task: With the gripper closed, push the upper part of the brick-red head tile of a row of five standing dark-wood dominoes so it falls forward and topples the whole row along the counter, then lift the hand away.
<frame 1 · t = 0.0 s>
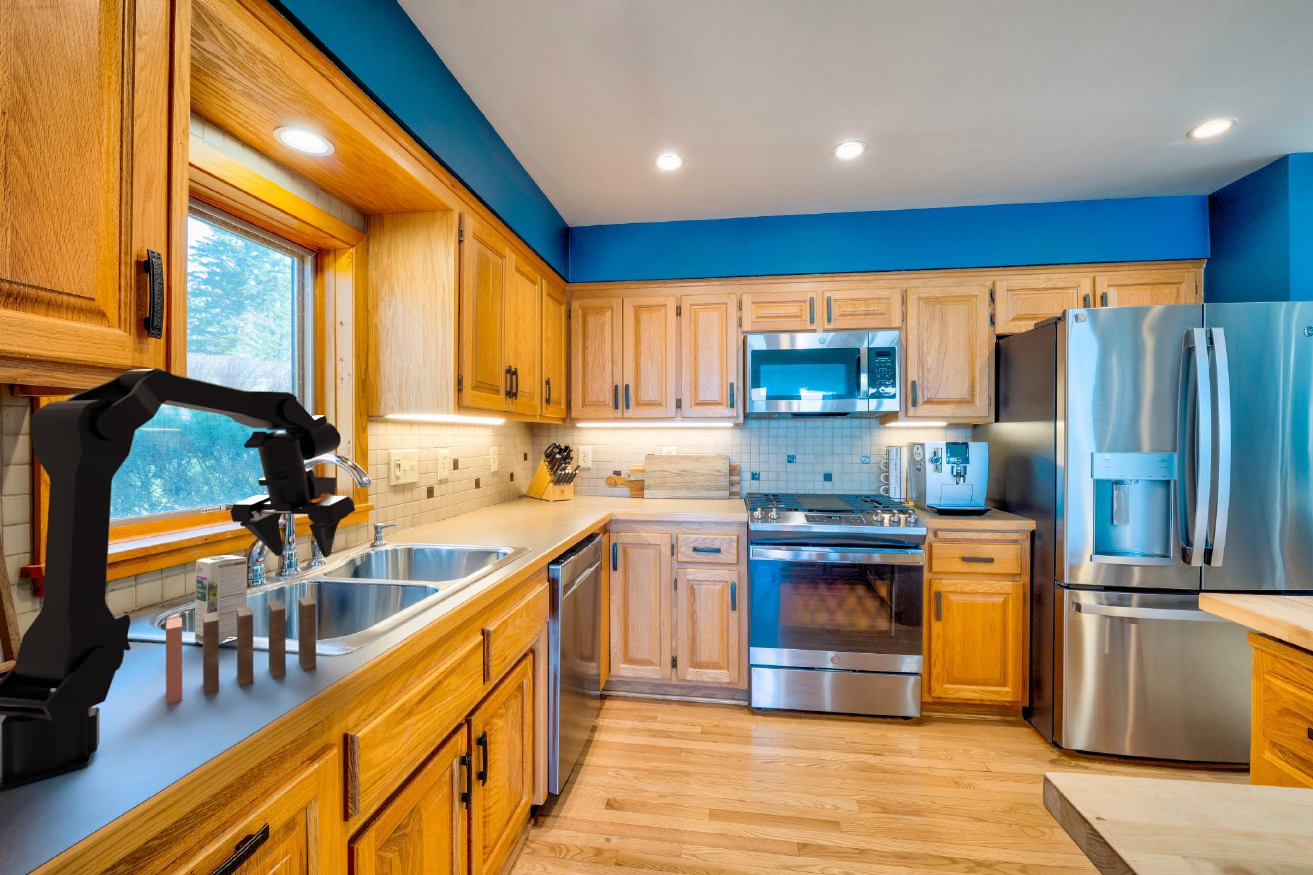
hand: (303, 555, 93), 15 cm above the counter, tool pointing down, fingers open, 9 cm apart
domino 3: (245, 679, 80), on the counter
domino 1: (174, 695, 75), on the counter
domino 4: (277, 671, 83), on the counter
domino 5: (307, 664, 86), on the counter
domino 2: (210, 687, 78), on the counter
syrup box: (221, 640, 97), on the counter
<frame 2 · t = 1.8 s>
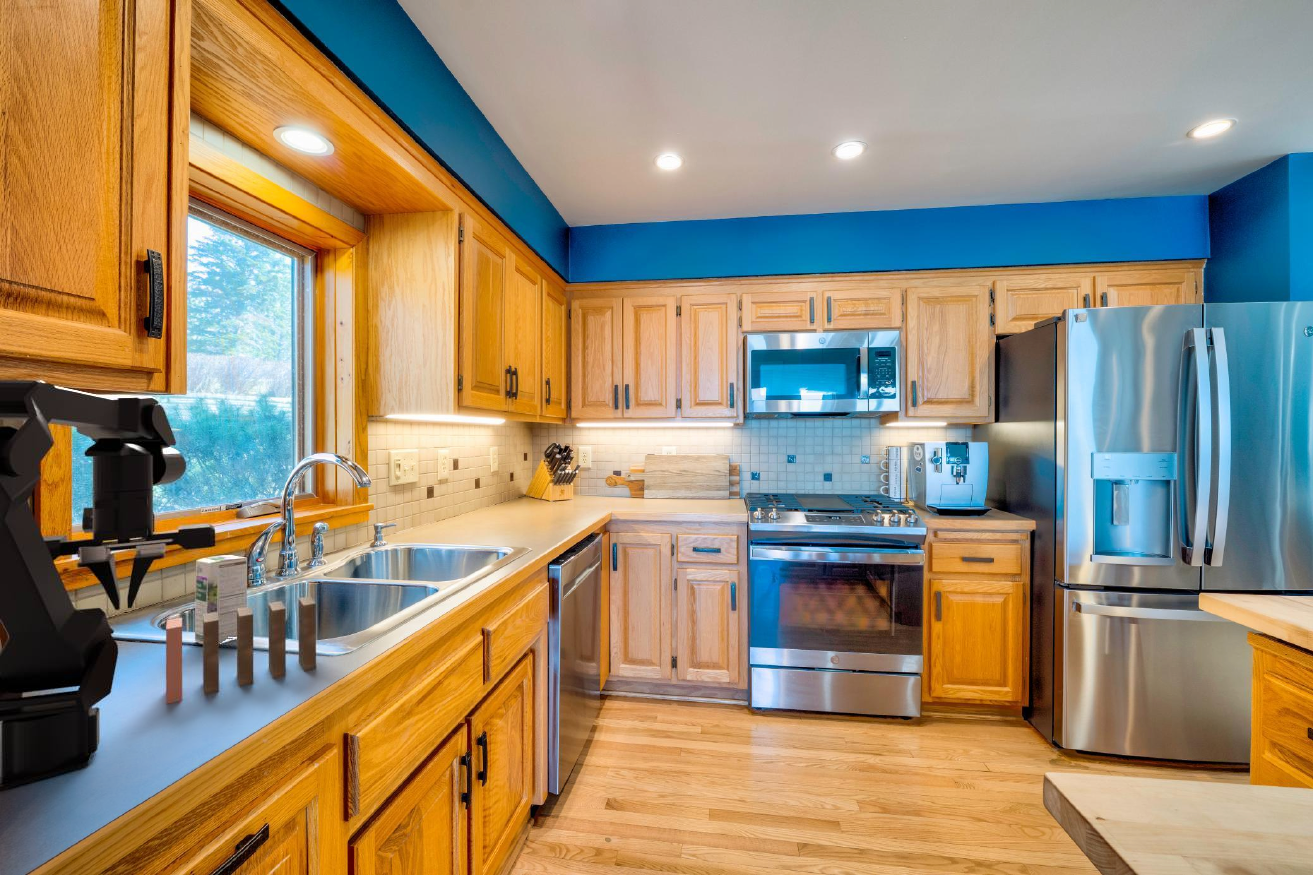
hand: (123, 608, 72), 13 cm above the counter, tool pointing down, fingers closed
nothing on the counter moved.
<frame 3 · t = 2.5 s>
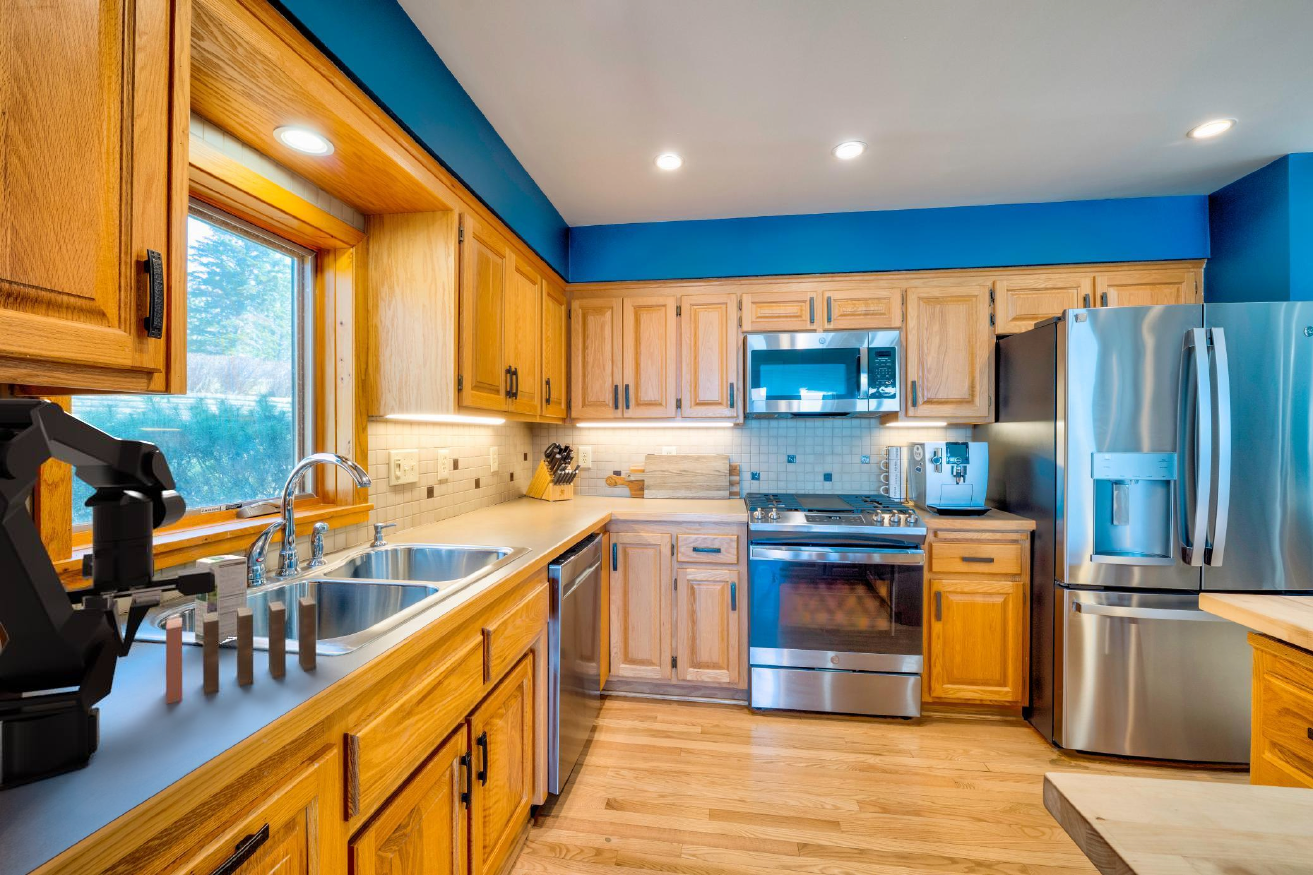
hand: (123, 656, 72), 7 cm above the counter, tool pointing down, fingers closed
nothing on the counter moved.
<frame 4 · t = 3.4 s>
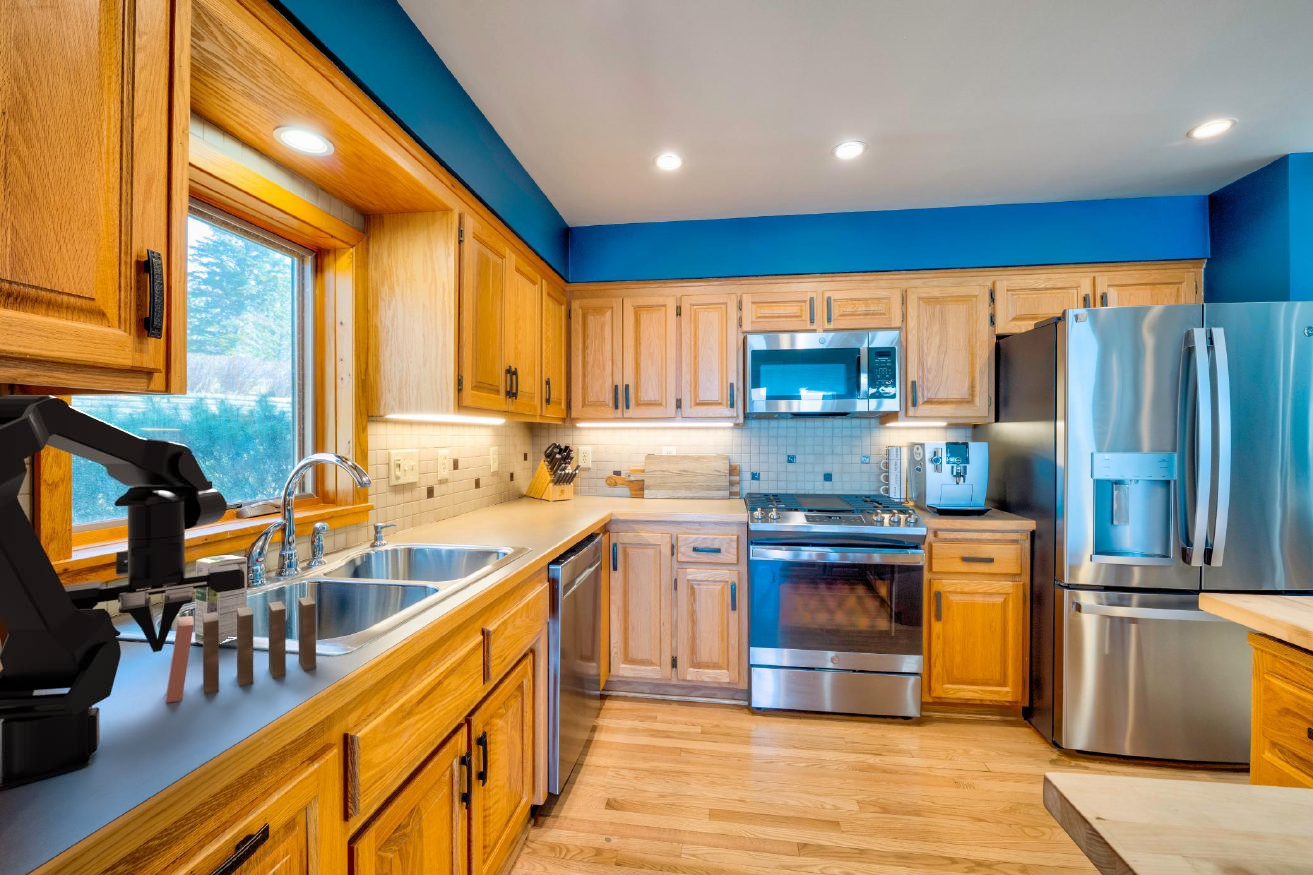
hand: (157, 650, 74), 7 cm above the counter, tool pointing down, fingers closed
domino 1: (174, 694, 75), on the counter, tilted 7°, touching gripper
everything else where it was.
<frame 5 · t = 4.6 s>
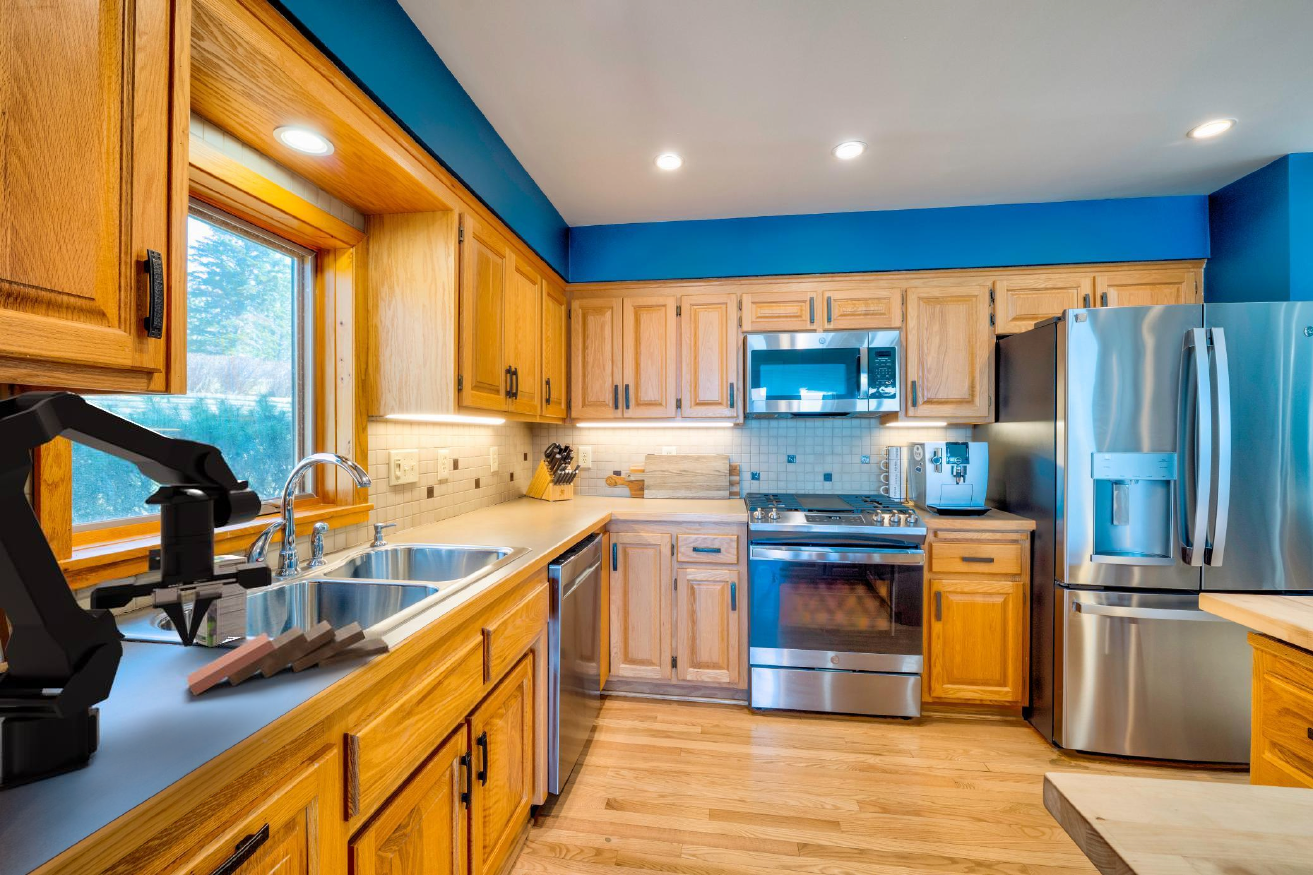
hand: (188, 645, 76), 6 cm above the counter, tool pointing down, fingers closed
domino 3: (261, 669, 82), point 1 cm above the counter, tilted 66°, touching domino 2, domino 4
domino 1: (191, 685, 77), point 1 cm above the counter, tilted 66°, touching domino 2
domino 4: (291, 663, 84), point 1 cm above the counter, tilted 72°, touching domino 3
domino 5: (315, 661, 86), on the counter, tilted 90°
domino 2: (228, 676, 79), point 1 cm above the counter, tilted 66°, touching domino 1, domino 3
everything else where it was.
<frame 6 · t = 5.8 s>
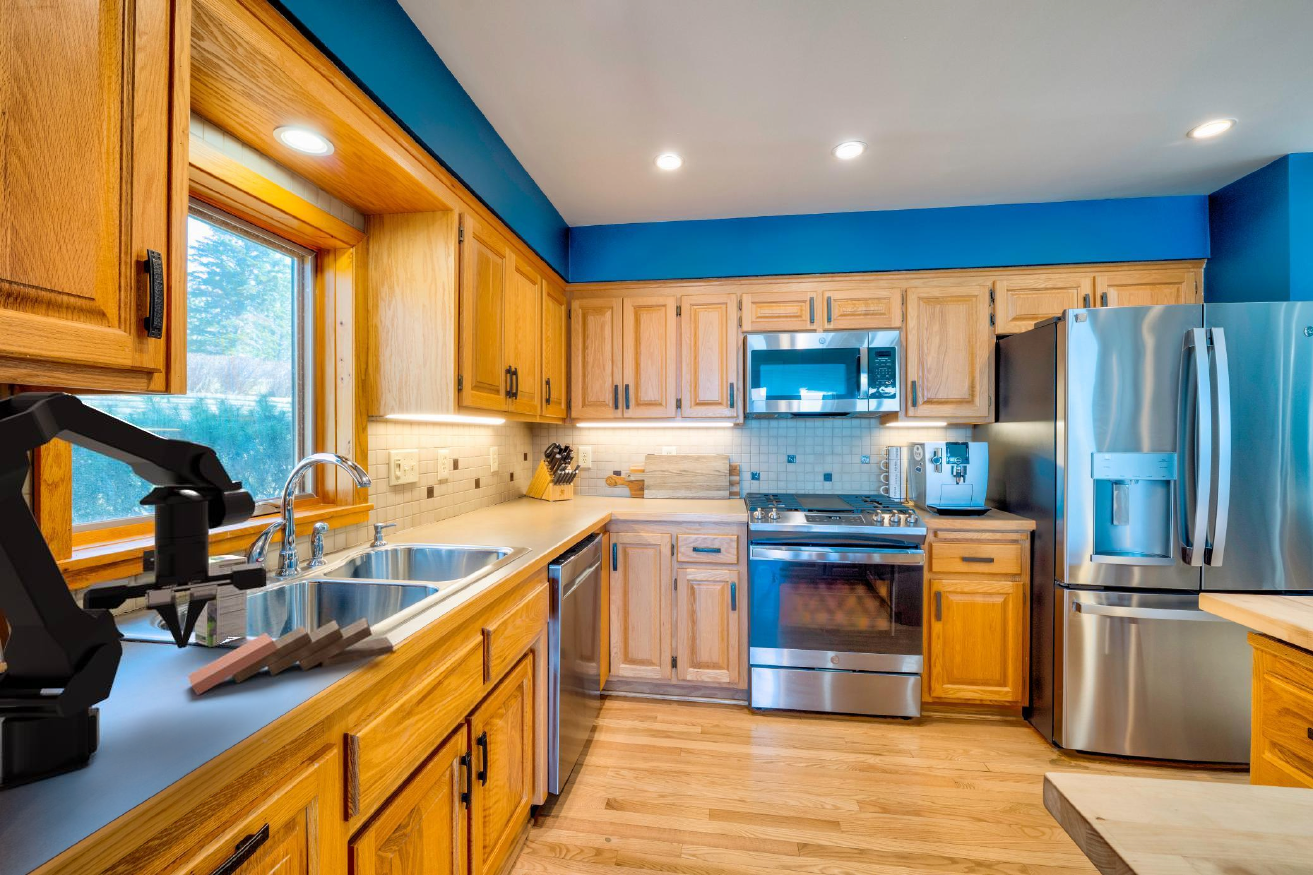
hand: (182, 647, 76), 6 cm above the counter, tool pointing down, fingers closed
domino 3: (269, 666, 83), point 1 cm above the counter, tilted 68°, touching domino 2, domino 4
domino 4: (301, 660, 85), point 1 cm above the counter, tilted 68°, touching domino 3
domino 2: (233, 673, 80), point 1 cm above the counter, tilted 68°, touching domino 1, domino 3
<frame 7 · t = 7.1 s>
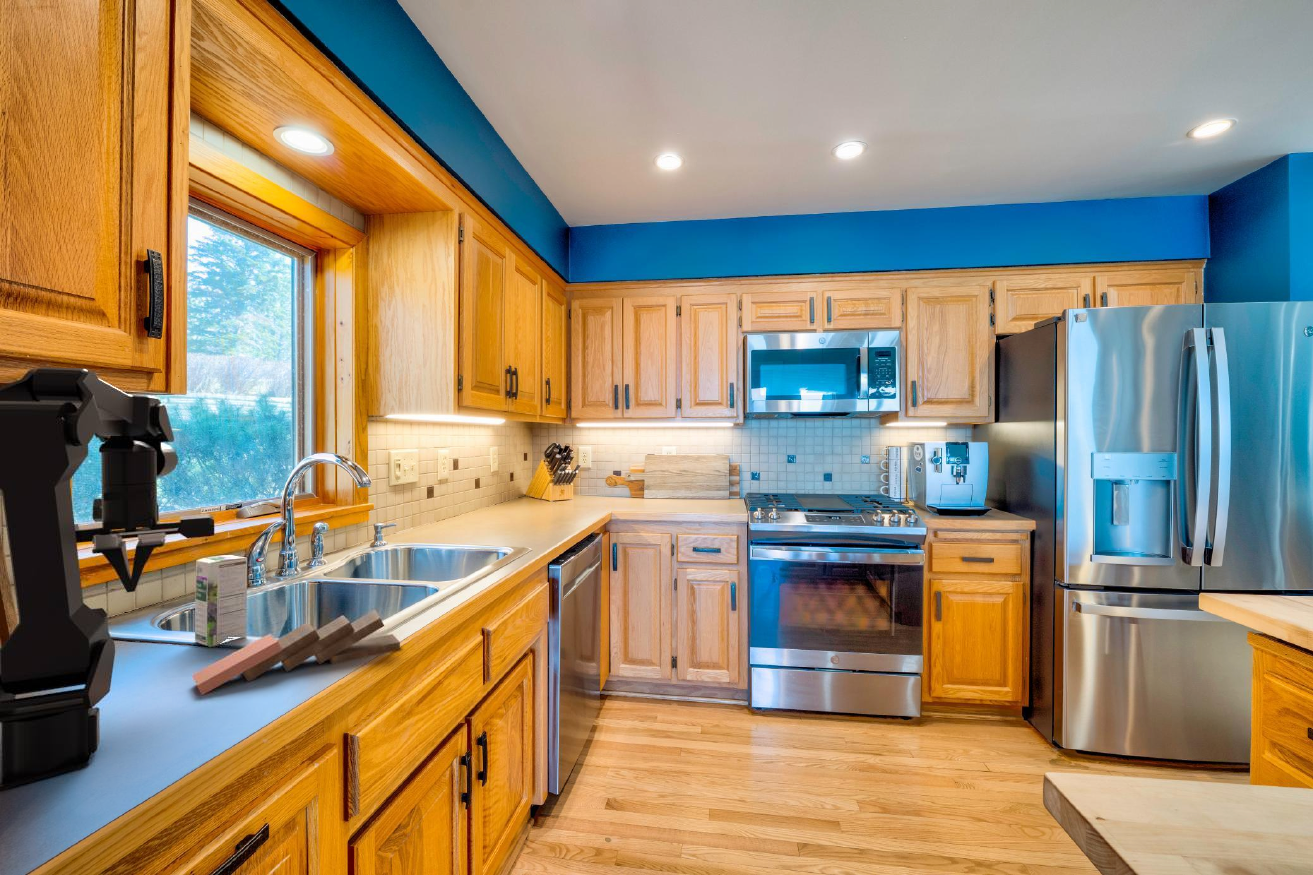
hand: (131, 591, 79), 13 cm above the counter, tool pointing down, fingers closed
domino 3: (282, 662, 84), point 1 cm above the counter, tilted 66°, touching domino 2, domino 4
domino 1: (196, 684, 77), point 1 cm above the counter, tilted 69°
domino 4: (315, 654, 87), point 1 cm above the counter, tilted 66°, touching domino 3, domino 5
domino 5: (328, 657, 88), on the counter, tilted 90°, touching domino 4
domino 2: (242, 672, 81), point 1 cm above the counter, tilted 66°, touching domino 3
everything else where it was.
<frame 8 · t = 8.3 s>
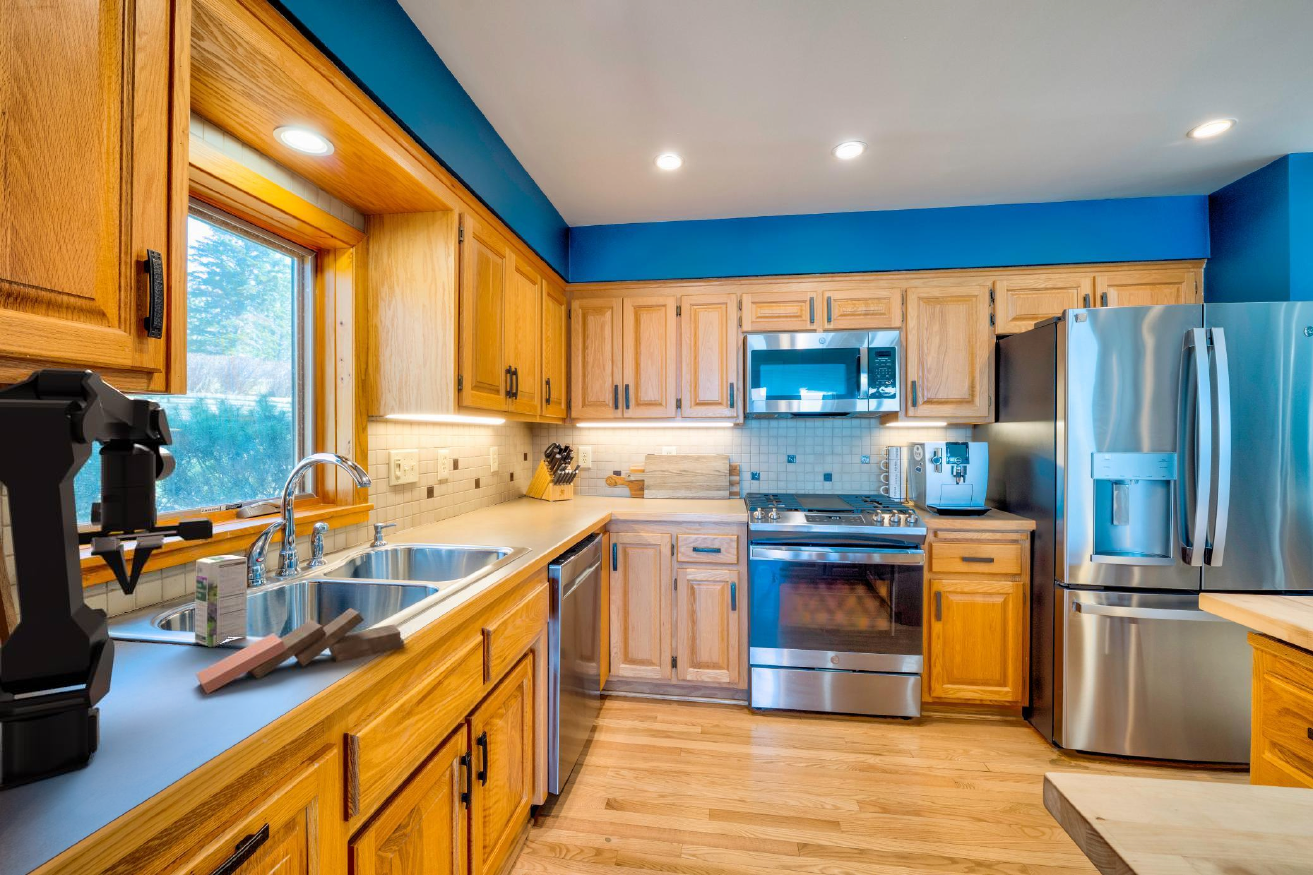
hand: (129, 594, 79), 13 cm above the counter, tool pointing down, fingers closed
domino 3: (297, 659, 85), point 1 cm above the counter, tilted 60°, touching domino 2, domino 4
domino 1: (201, 683, 77), point 1 cm above the counter, tilted 70°, touching domino 2
domino 4: (329, 646, 88), point 2 cm above the counter, tilted 90°, touching domino 3, domino 5
domino 2: (250, 670, 82), point 1 cm above the counter, tilted 65°, touching domino 1, domino 3
at the end: domino 5 tilted 90°; domino 1 tilted 70°; domino 3 tilted 60° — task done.
